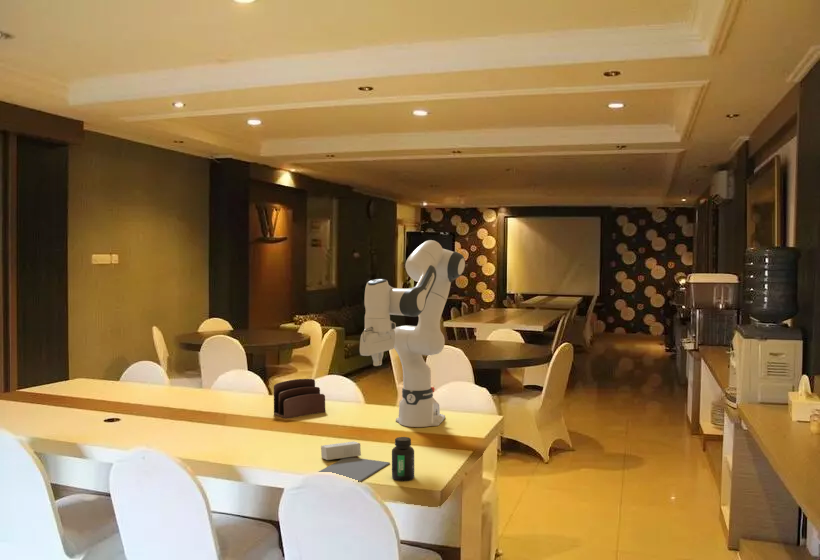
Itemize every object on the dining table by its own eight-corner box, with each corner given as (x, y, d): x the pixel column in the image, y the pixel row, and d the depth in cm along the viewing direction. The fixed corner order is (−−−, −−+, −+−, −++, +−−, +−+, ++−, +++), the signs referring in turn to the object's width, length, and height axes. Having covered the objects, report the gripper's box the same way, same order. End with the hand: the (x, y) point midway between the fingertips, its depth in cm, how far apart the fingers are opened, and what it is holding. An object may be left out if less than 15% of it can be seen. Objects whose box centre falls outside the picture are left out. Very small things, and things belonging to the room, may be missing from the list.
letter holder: (273, 414, 297) (273, 381, 297) (314, 408, 309) (314, 376, 308) (284, 419, 289) (283, 385, 289) (325, 412, 301) (325, 379, 300)
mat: (346, 458, 233) (346, 456, 233) (389, 463, 226) (389, 462, 226) (314, 475, 215) (314, 473, 215) (359, 482, 208) (359, 480, 208)
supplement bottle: (403, 483, 207) (403, 443, 207) (387, 478, 212) (387, 439, 211) (419, 477, 212) (418, 438, 212) (402, 472, 217) (402, 434, 216)
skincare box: (355, 453, 238) (321, 458, 233) (354, 441, 238) (320, 445, 234) (361, 456, 233) (326, 460, 228) (360, 443, 233) (326, 447, 228)
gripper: (371, 329, 232) (371, 370, 233) (398, 323, 251) (398, 361, 251) (354, 328, 235) (355, 369, 236) (382, 322, 254) (382, 360, 254)
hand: (377, 365), depth 244 cm, fingers closed
